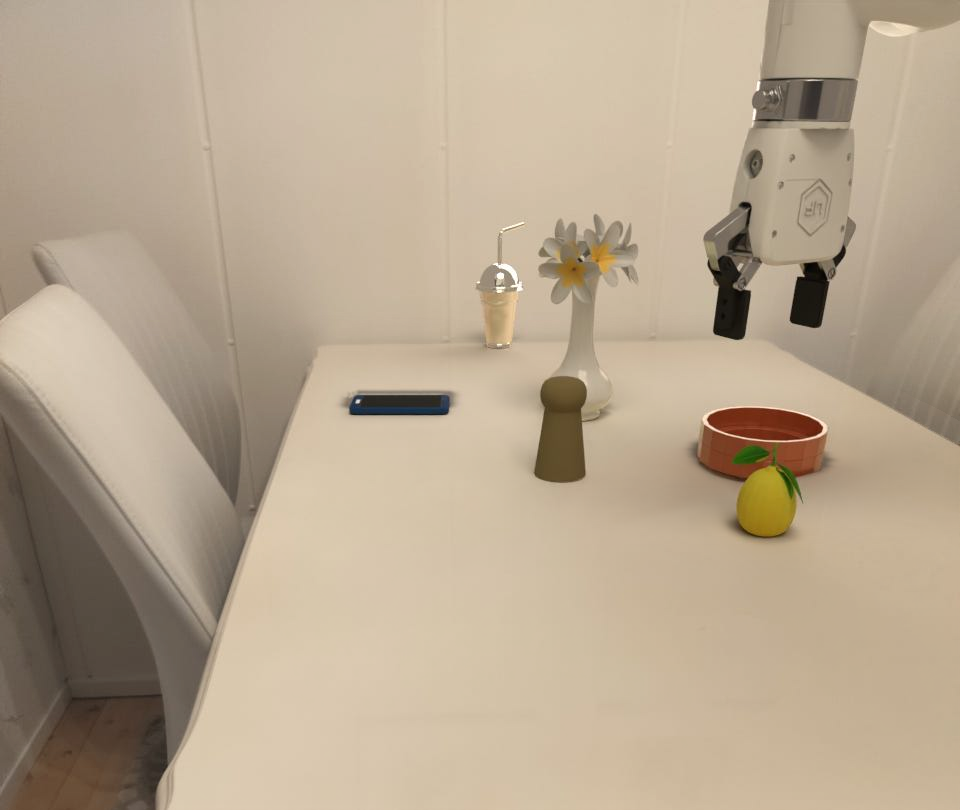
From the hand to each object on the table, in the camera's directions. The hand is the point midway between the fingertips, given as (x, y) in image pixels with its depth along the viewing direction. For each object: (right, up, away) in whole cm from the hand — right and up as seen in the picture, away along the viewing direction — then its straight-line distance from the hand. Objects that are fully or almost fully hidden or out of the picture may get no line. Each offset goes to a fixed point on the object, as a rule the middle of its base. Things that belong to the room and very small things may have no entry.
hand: (767, 331), depth 81 cm
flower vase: (-12, +3, +46) cm, 47 cm away
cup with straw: (-22, +26, +84) cm, 91 cm away
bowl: (+8, -6, +28) cm, 30 cm away
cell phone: (-37, +6, +49) cm, 62 cm away
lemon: (+2, -18, +9) cm, 20 cm away
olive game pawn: (-16, -8, +26) cm, 31 cm away
